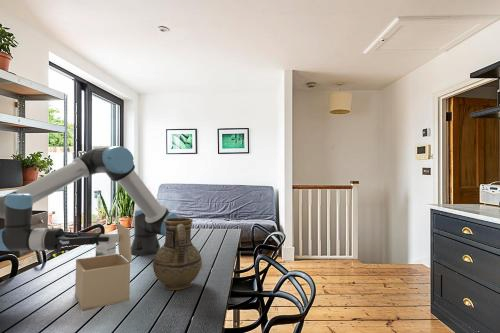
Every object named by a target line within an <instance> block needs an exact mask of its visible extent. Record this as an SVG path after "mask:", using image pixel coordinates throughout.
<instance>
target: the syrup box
mask: <svg viewBox="0 0 500 333" xmlns="http://www.w3.org/2000/svg"><path fill="white" fill-rule="evenodd" d="M116 250H117V243H99V245H96V244H95V257H97V256H104V255H111V254H117V253H116V252H117V251H116Z"/></svg>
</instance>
